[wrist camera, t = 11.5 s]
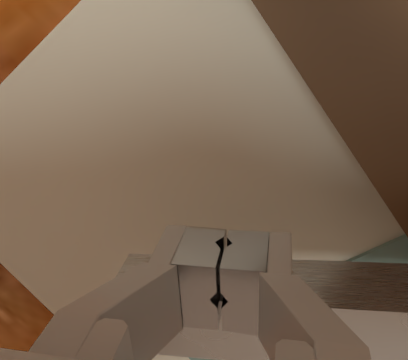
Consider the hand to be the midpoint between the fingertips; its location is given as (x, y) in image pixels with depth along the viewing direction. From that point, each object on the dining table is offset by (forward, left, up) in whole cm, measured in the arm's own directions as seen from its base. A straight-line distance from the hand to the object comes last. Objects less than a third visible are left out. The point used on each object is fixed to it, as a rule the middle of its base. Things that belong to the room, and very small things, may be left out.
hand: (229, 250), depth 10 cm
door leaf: (-3, -2, -5) cm, 7 cm away
